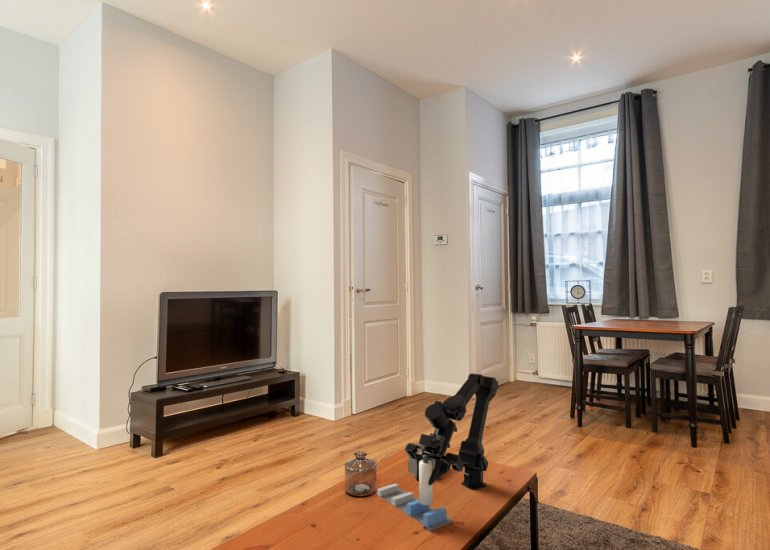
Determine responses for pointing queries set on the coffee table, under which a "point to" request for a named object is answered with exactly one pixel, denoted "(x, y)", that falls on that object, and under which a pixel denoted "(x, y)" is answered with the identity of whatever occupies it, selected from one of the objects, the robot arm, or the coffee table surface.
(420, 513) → the slotted divider tray
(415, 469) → the digital clock
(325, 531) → the coffee table surface
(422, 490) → the bottle
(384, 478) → the coffee table surface
